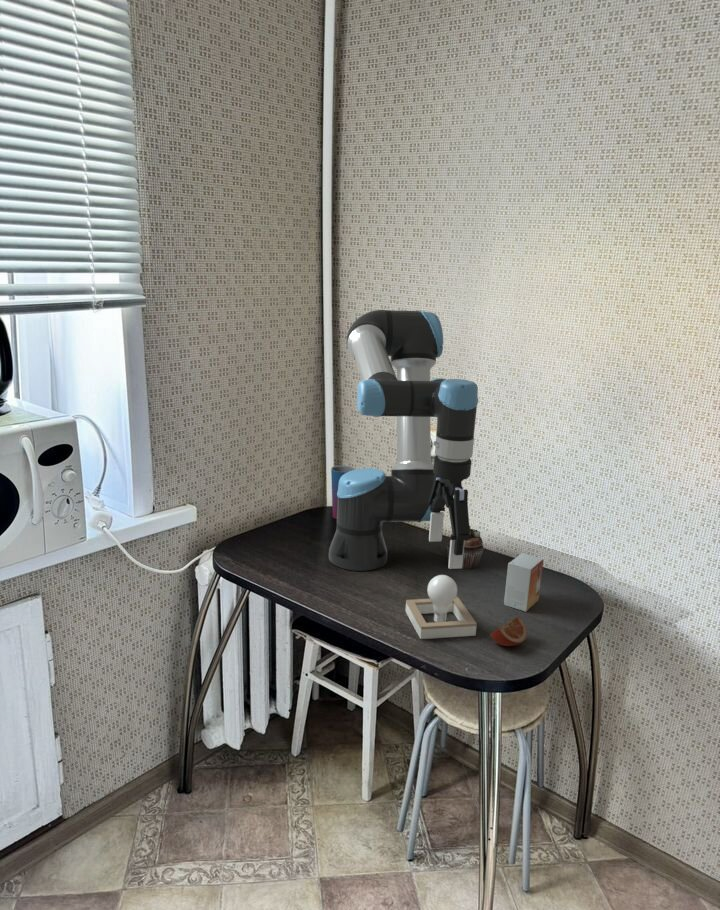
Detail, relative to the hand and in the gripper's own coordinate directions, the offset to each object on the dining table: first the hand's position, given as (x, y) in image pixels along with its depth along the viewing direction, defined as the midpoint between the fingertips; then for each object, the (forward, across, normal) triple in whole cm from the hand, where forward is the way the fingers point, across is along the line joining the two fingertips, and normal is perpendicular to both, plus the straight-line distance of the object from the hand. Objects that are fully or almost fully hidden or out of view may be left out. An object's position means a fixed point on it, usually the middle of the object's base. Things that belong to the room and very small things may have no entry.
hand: (444, 553), depth 150 cm
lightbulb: (+16, +1, 0) cm, 16 cm away
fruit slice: (+16, +10, +12) cm, 22 cm away
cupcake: (+17, -29, +16) cm, 37 cm away
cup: (+17, -65, -10) cm, 68 cm away
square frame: (+16, +1, 0) cm, 16 cm away
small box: (+16, -6, +22) cm, 28 cm away
